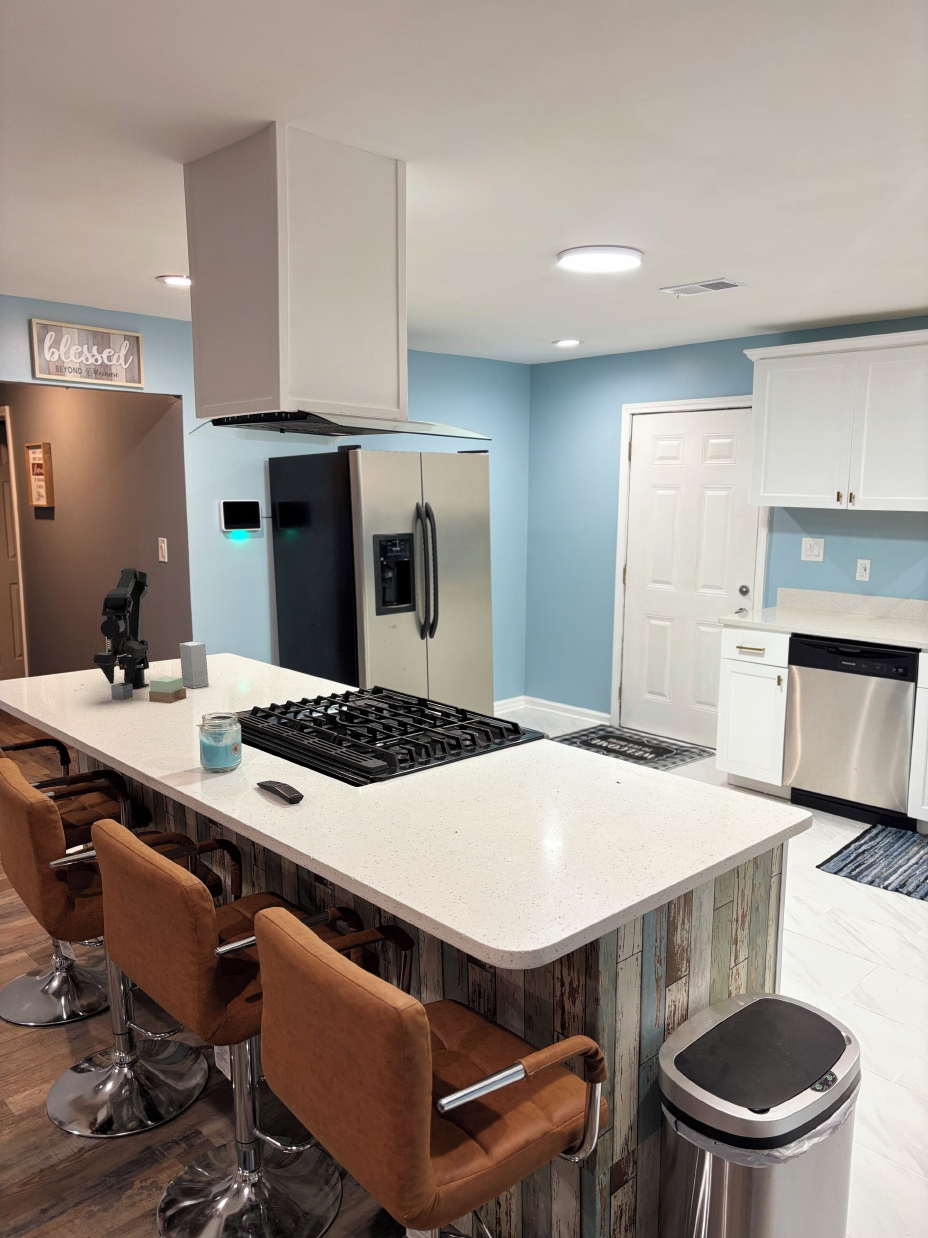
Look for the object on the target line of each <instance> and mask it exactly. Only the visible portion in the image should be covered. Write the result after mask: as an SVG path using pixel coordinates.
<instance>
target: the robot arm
mask: <svg viewBox="0 0 928 1238" xmlns="http://www.w3.org/2000/svg"><path fill="white" fill-rule="evenodd" d="M120 573H121V575H120V577H119V579H118V581H117V583H116V586H115V588H114V589H111V590H109V591H108V592H107V593H106V596H104V598H103V603H102V611H101V616H102V617H106V620H104V621H102V623H101V625H100V632H101V634H102V635H103V636H104V637H106V640H108V641H109V643H110V644H109V645H110V648H108V649H107V652H106V651H105V652H98V653H95V654H94V655H93V656H92V661H93V662H92V663H93V664H95V665H96V666H98V667H99V668H100V670H101V672H102V673H103V674H104V676H105V677H106V680H107V681H108V682H109V684H110V685H114V684H115V683H114V681H115V667H116V666H117V665H118V668H119V671H123V683H132V687H133V689H134V690H138V689H140V688H144V687H147V686H150V683H146V681H145V670H148V669H150V662H149V658H148V656H147V654H148V653H147V651H149V643H148V642H149V641H148V640H146V639H141V635H142V634H141V631H142V630H141V629H142V614H143V613H142V610H143V599H144V598H145V597H146V596H147V594H149V593H148V592H149V587H150V585H151V578H150V576H149V575H148V573H146V572H144V571H141V570H139V569H138V568H122V569H121V571H120ZM117 661H118V663H117Z"/></svg>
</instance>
